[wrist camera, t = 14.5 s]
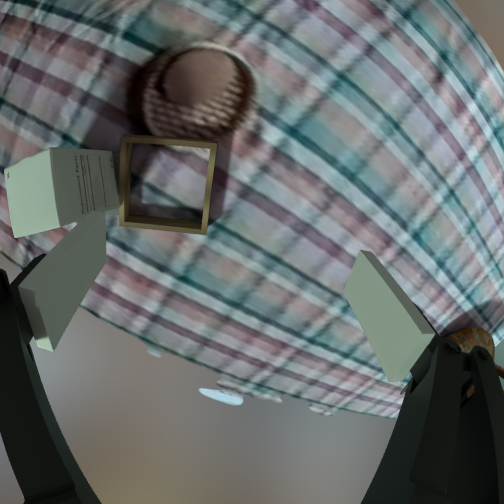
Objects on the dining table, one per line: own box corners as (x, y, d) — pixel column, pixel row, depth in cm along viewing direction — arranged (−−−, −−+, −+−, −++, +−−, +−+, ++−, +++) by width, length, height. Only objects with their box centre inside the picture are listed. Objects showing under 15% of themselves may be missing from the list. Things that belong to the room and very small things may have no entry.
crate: (128, 134, 38) (121, 137, 35) (218, 141, 40) (217, 143, 37) (125, 218, 44) (119, 226, 41) (207, 227, 46) (206, 235, 43)
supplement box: (75, 218, 40) (12, 240, 26) (68, 163, 38) (2, 167, 24) (121, 208, 40) (60, 229, 25) (113, 149, 37) (49, 145, 23)
